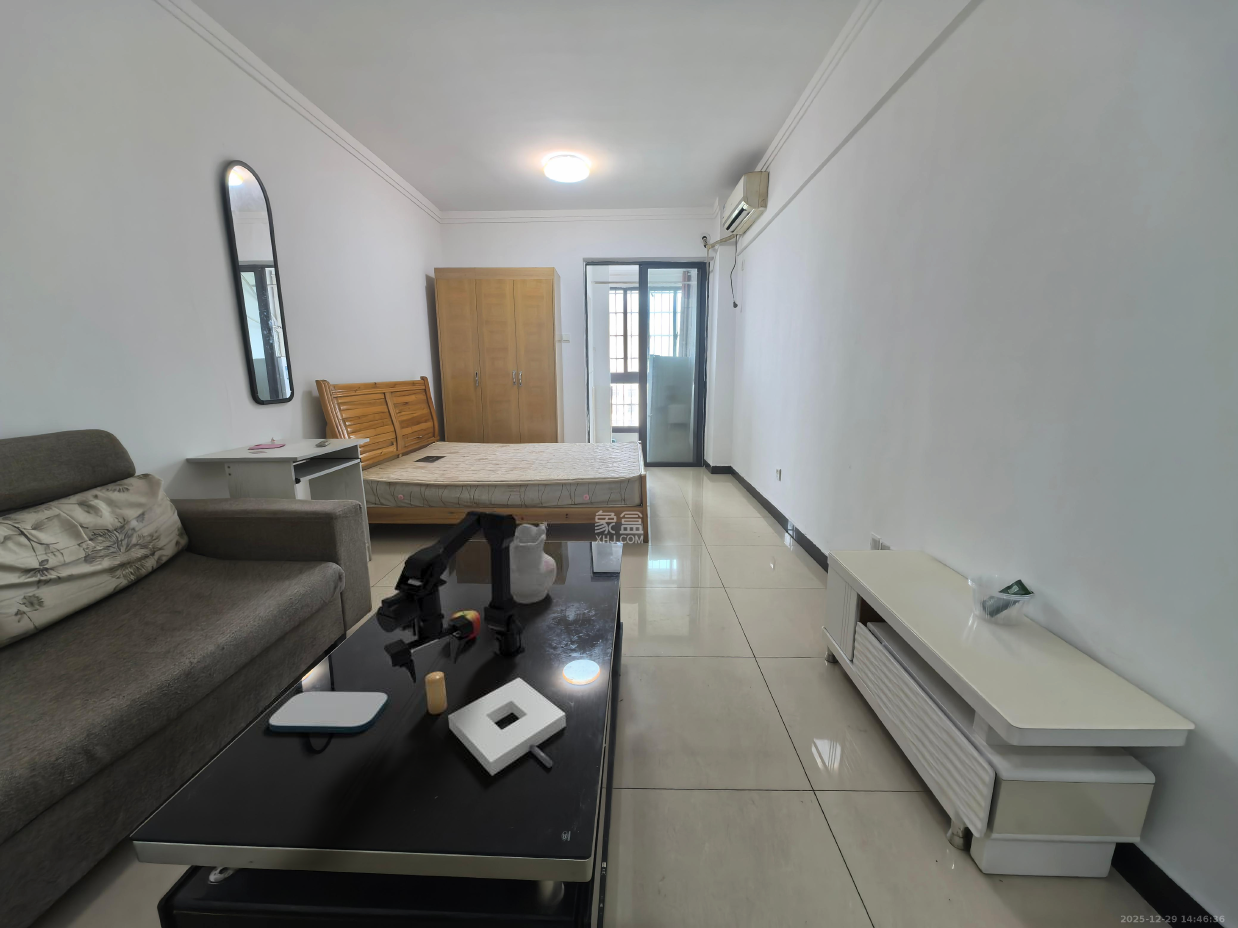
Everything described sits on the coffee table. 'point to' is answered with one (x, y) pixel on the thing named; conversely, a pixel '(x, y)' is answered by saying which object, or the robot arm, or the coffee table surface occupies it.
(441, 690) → the tan peg
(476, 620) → the apple
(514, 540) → the ceramic pitcher
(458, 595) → the coffee table surface
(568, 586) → the coffee table surface
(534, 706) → the grey board with hole
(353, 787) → the coffee table surface
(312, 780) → the coffee table surface
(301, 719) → the external hard drive
